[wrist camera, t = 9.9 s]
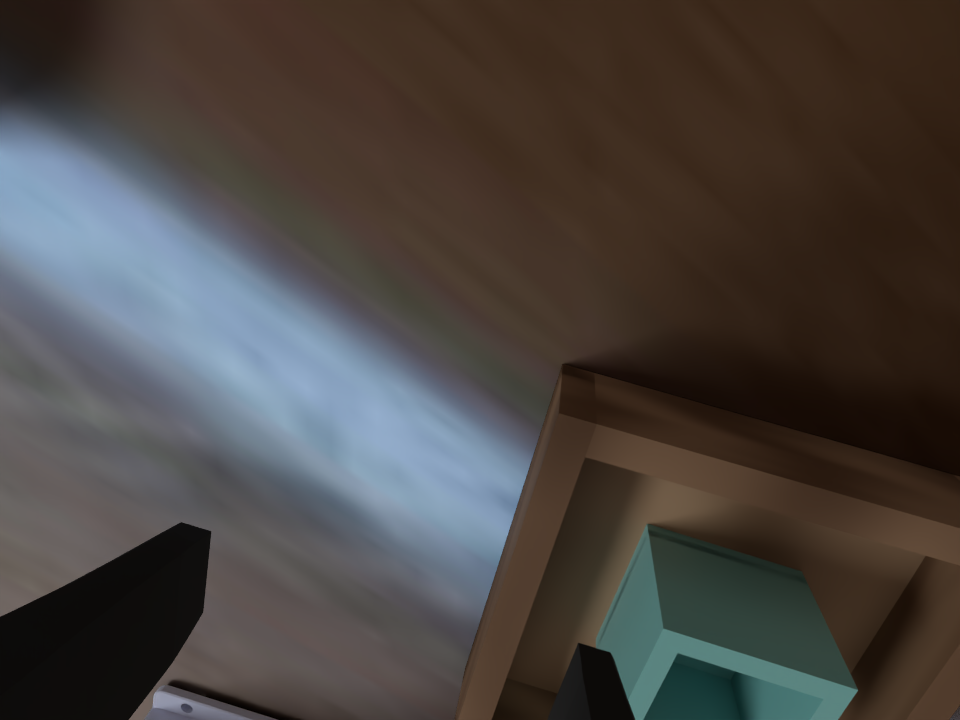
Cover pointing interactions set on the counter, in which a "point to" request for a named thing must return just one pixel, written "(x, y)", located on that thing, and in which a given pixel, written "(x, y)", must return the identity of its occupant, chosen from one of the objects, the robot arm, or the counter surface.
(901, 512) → the big crate
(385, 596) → the counter surface
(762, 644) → the small crate
